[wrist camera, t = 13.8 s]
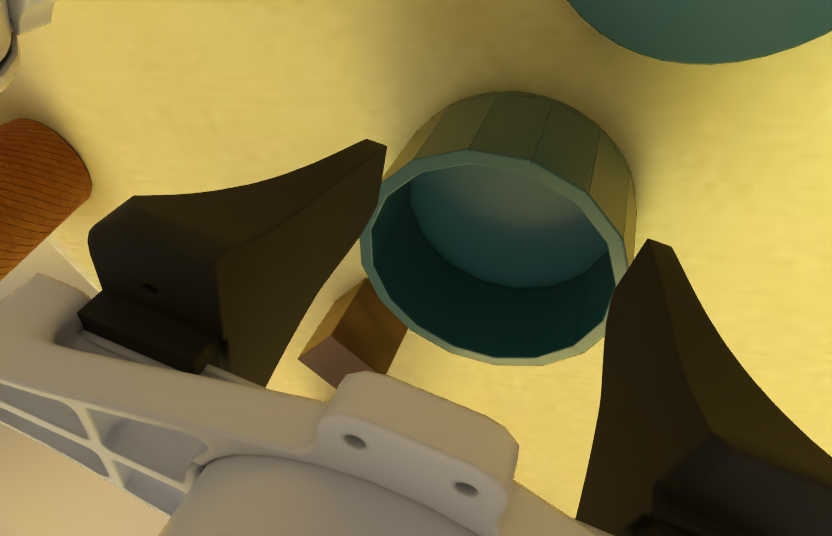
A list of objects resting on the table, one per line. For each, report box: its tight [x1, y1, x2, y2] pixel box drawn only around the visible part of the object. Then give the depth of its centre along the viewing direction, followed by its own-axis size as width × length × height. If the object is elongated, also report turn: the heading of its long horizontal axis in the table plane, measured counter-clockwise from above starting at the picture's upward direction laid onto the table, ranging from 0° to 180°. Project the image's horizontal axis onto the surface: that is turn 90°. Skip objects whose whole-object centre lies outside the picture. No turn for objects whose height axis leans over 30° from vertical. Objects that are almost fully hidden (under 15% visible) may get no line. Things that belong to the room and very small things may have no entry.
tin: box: [360, 92, 637, 366], centre depth 24 cm, size 11×11×5 cm
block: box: [298, 278, 408, 389], centre depth 33 cm, size 4×4×5 cm
